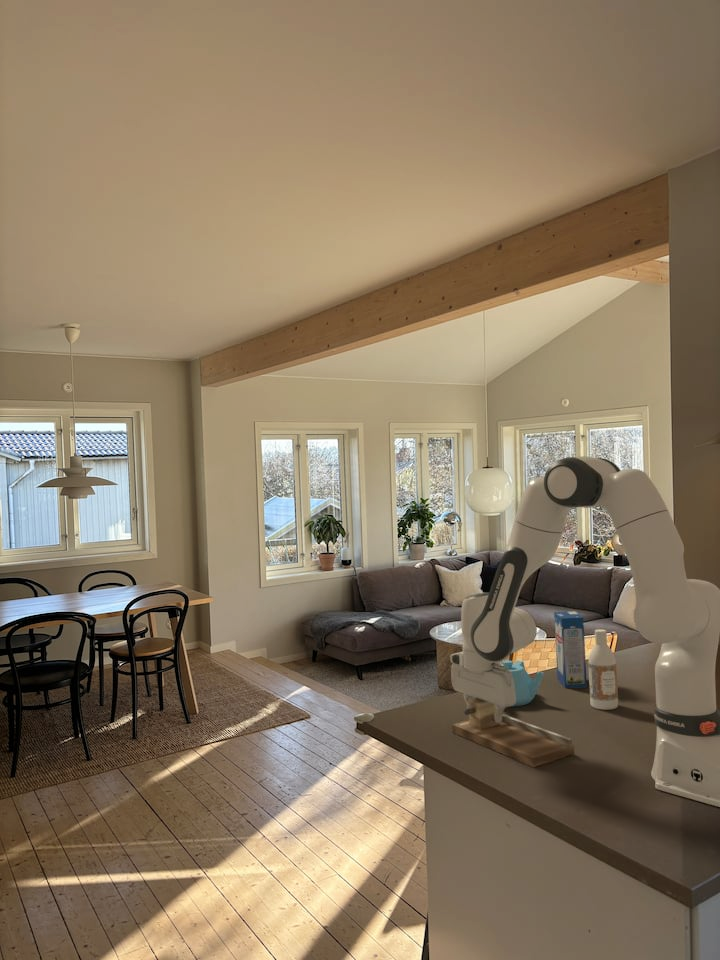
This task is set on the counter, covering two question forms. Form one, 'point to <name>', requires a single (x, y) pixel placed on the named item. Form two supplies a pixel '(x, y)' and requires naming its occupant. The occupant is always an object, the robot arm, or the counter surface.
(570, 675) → the milk carton
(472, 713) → the wooden block with pegs
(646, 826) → the counter surface
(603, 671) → the bath foam
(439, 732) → the counter surface
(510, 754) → the walnut board
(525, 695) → the teapot
